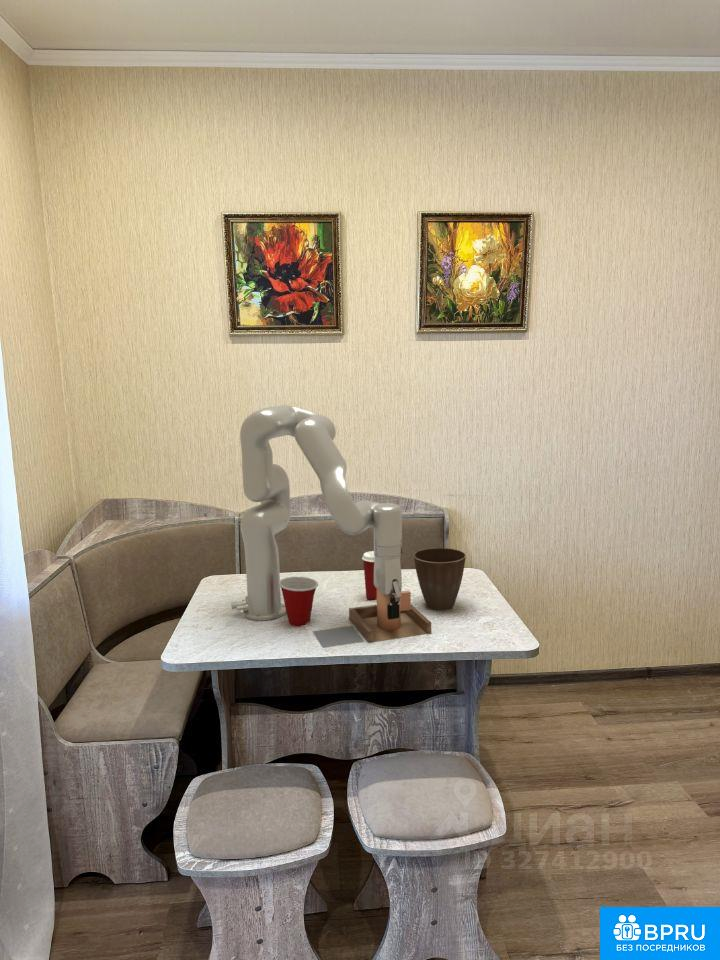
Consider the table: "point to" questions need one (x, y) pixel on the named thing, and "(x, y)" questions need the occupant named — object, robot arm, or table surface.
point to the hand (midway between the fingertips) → (388, 613)
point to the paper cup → (369, 575)
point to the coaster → (337, 636)
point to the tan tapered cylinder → (382, 610)
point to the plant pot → (439, 576)
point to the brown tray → (367, 626)
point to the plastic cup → (298, 598)
